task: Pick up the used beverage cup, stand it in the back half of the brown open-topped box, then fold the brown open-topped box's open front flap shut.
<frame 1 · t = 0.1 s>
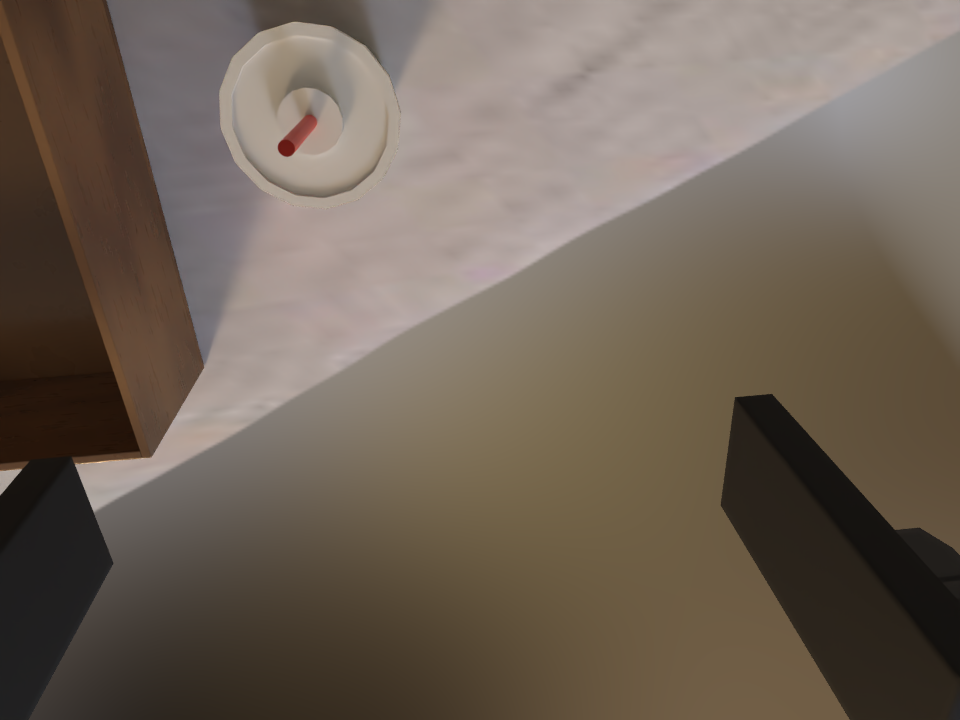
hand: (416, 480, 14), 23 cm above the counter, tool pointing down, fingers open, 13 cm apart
beverage cup: (338, 90, 32), on the counter
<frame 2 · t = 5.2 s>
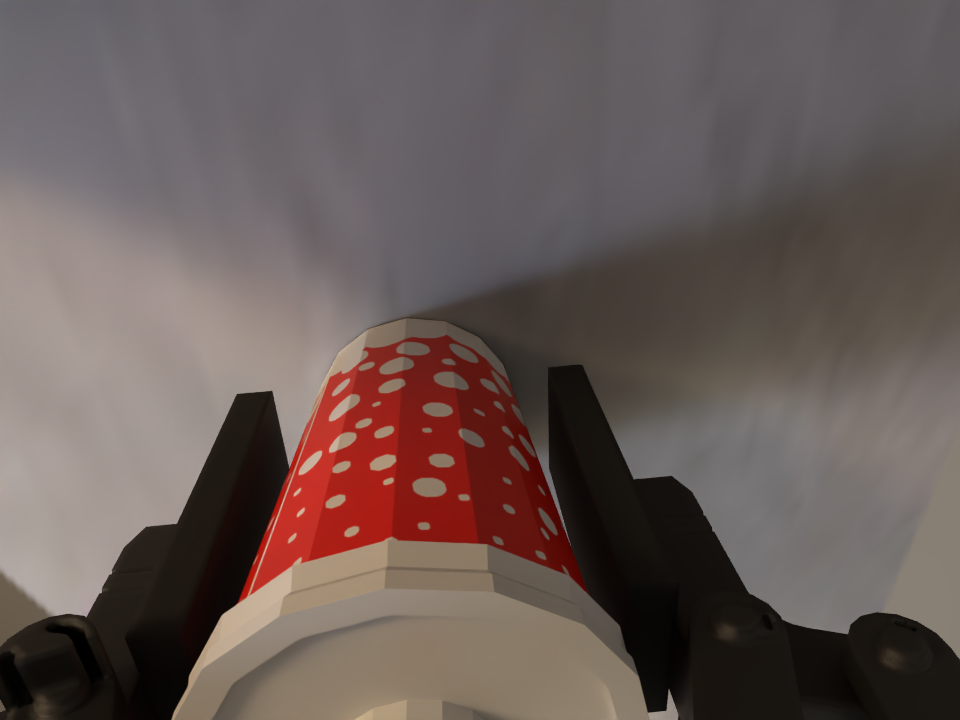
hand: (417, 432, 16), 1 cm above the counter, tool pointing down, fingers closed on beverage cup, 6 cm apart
beverage cup: (417, 400, 17), on the counter, touching gripper
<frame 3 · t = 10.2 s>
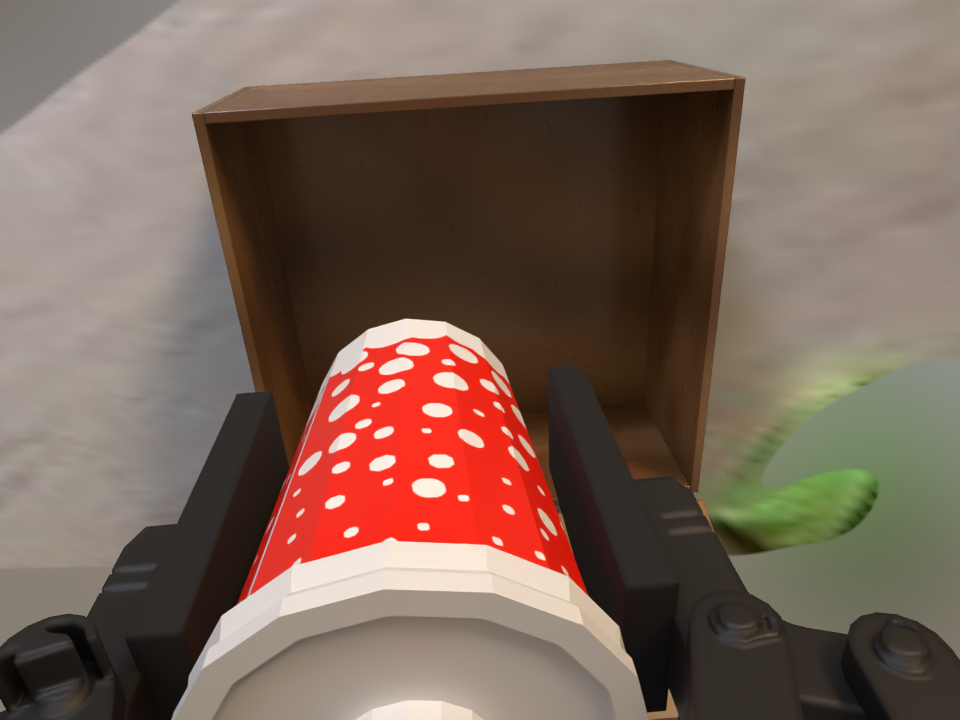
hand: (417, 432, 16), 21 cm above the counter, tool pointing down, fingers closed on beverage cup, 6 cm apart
brown open-topped box: (472, 266, 37), on the counter
beverage cup: (417, 401, 17), point 20 cm above the counter, touching gripper
flap: (508, 616, 30), point 13 cm above the counter, hinge at 110.0°
when the fingers open (2 cm above the counter, at t = 15.0 s): beverage cup stays where it is, resting on brown open-topped box.
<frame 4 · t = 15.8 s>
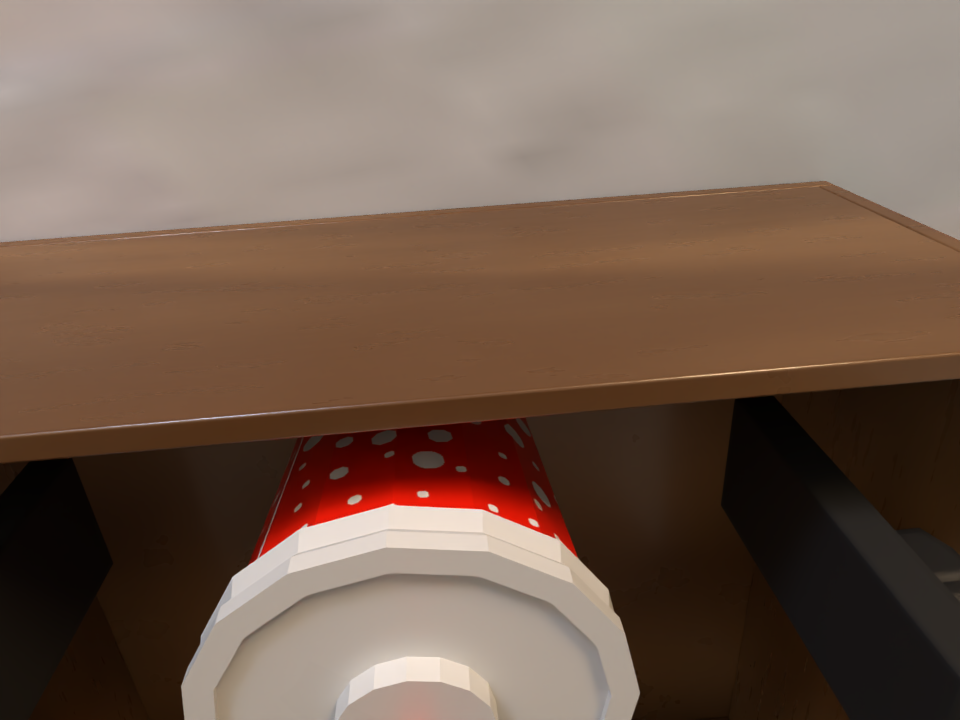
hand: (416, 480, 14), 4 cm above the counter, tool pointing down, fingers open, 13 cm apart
brown open-topped box: (433, 534, 20), on the counter
beverage cup: (417, 386, 18), resting on brown open-topped box
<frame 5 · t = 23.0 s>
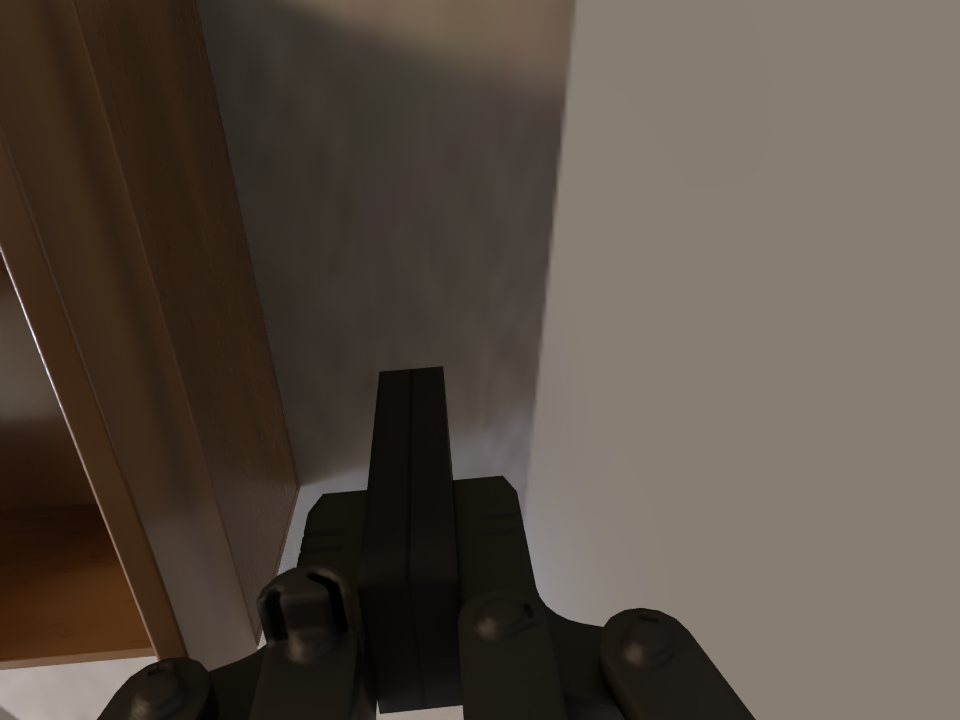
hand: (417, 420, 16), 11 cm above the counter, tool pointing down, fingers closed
flap: (179, 502, 14), point 13 cm above the counter, hinge at 108.1°, touching gripper
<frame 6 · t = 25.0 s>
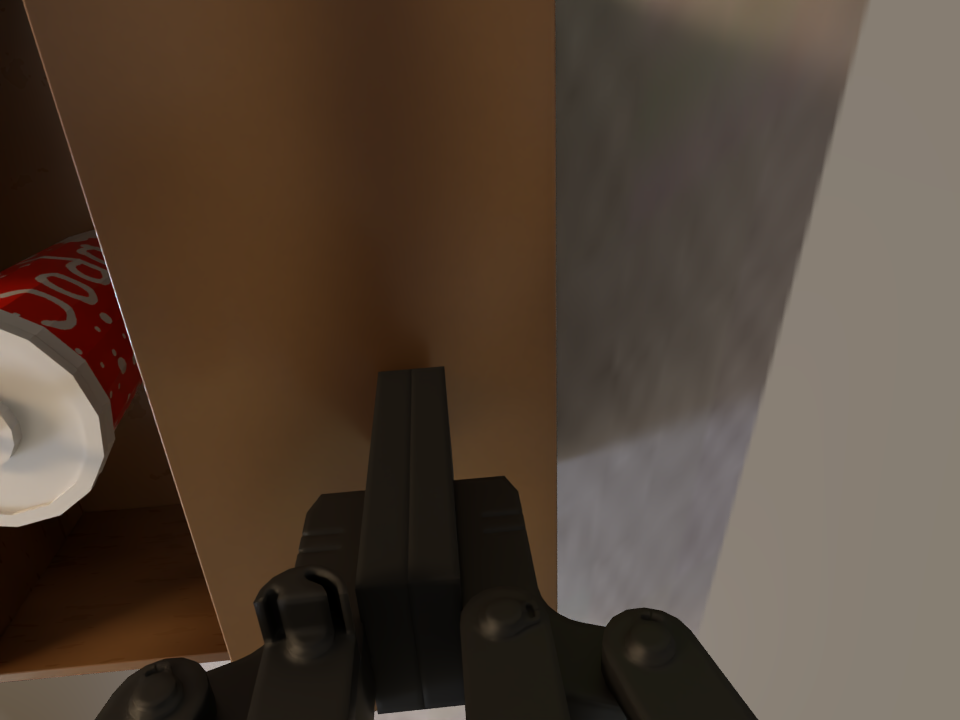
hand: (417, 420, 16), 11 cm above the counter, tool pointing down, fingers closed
brown open-topped box: (258, 277, 25), on the counter
beverage cup: (116, 290, 25), resting on brown open-topped box
flap: (376, 414, 17), point 10 cm above the counter, hinge at 15.6°
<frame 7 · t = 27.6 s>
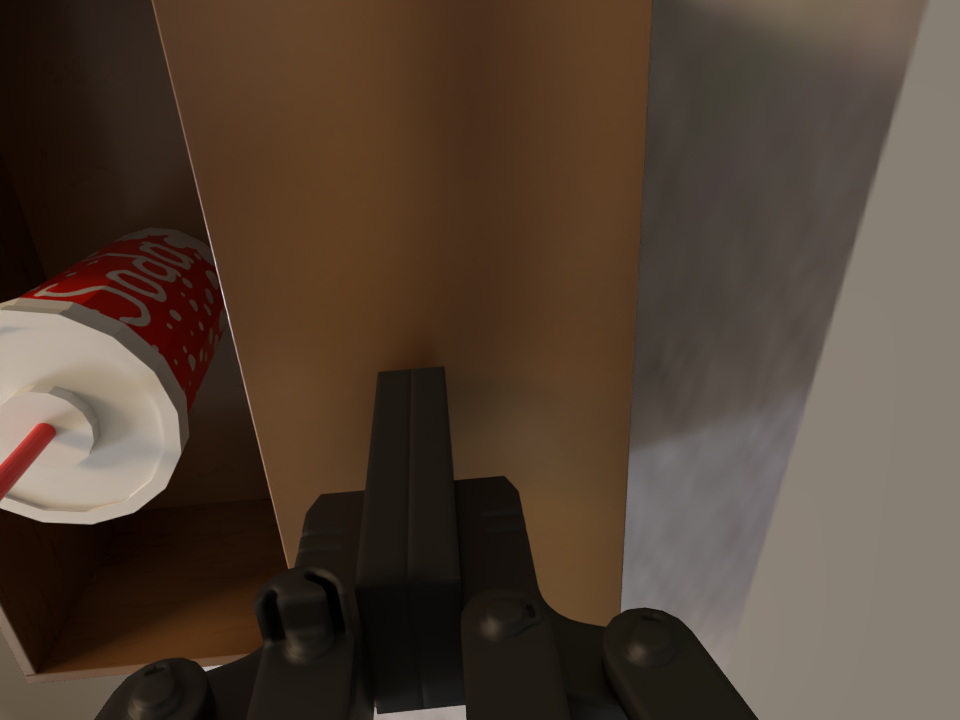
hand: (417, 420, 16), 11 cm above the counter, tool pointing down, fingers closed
brown open-topped box: (312, 275, 25), on the counter
beverage cup: (170, 288, 25), resting on brown open-topped box
flap: (453, 400, 17), point 10 cm above the counter, hinge at 9.6°, touching gripper
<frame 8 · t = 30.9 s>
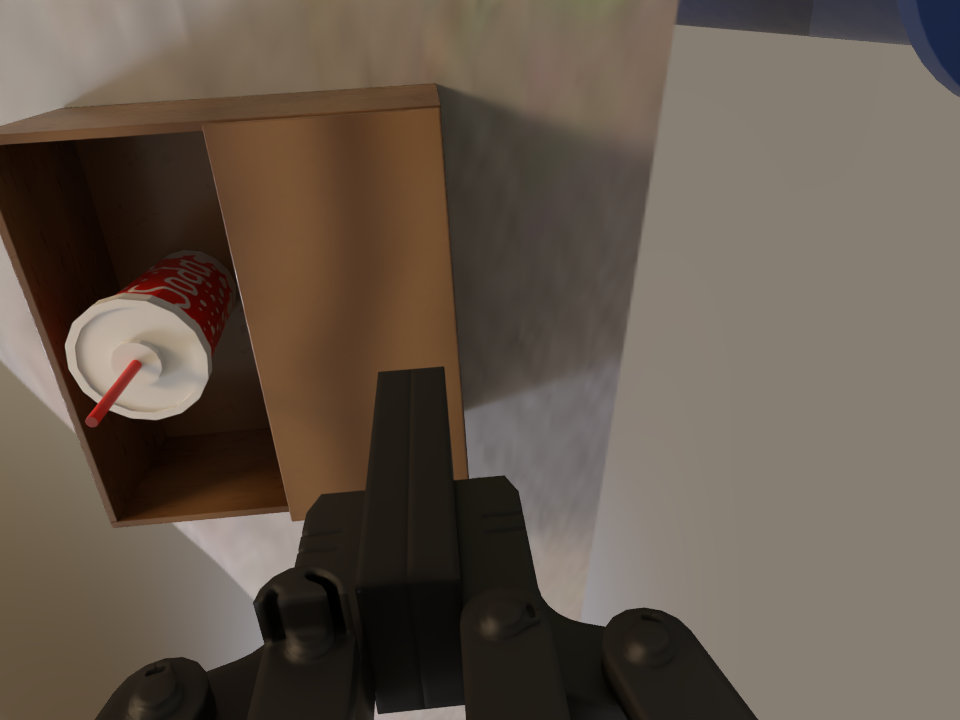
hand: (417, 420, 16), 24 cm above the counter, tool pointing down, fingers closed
brown open-topped box: (285, 279, 40), on the counter
beverage cup: (195, 287, 39), resting on brown open-topped box
flap: (356, 341, 32), point 9 cm above the counter, hinge at 0.6°
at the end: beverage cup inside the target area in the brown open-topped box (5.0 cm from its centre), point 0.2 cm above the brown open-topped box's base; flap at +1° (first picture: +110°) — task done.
